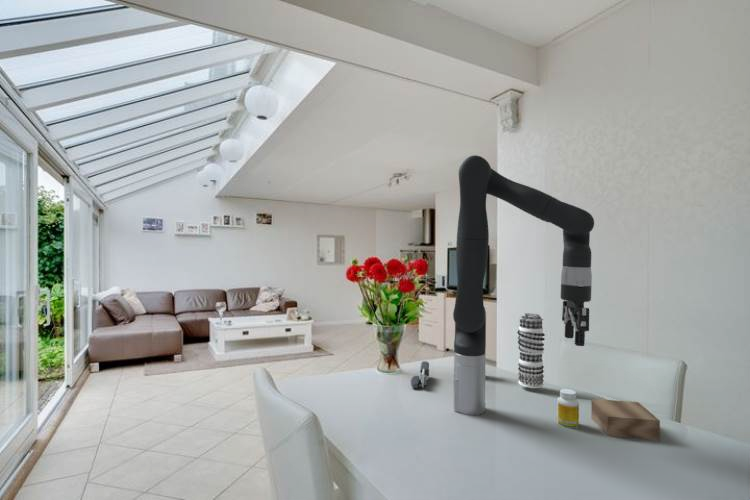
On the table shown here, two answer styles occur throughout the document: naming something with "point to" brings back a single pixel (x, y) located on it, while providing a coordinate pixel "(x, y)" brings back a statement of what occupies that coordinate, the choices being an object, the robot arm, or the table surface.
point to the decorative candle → (530, 351)
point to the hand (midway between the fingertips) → (574, 341)
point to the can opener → (424, 376)
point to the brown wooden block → (625, 419)
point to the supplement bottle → (567, 409)
